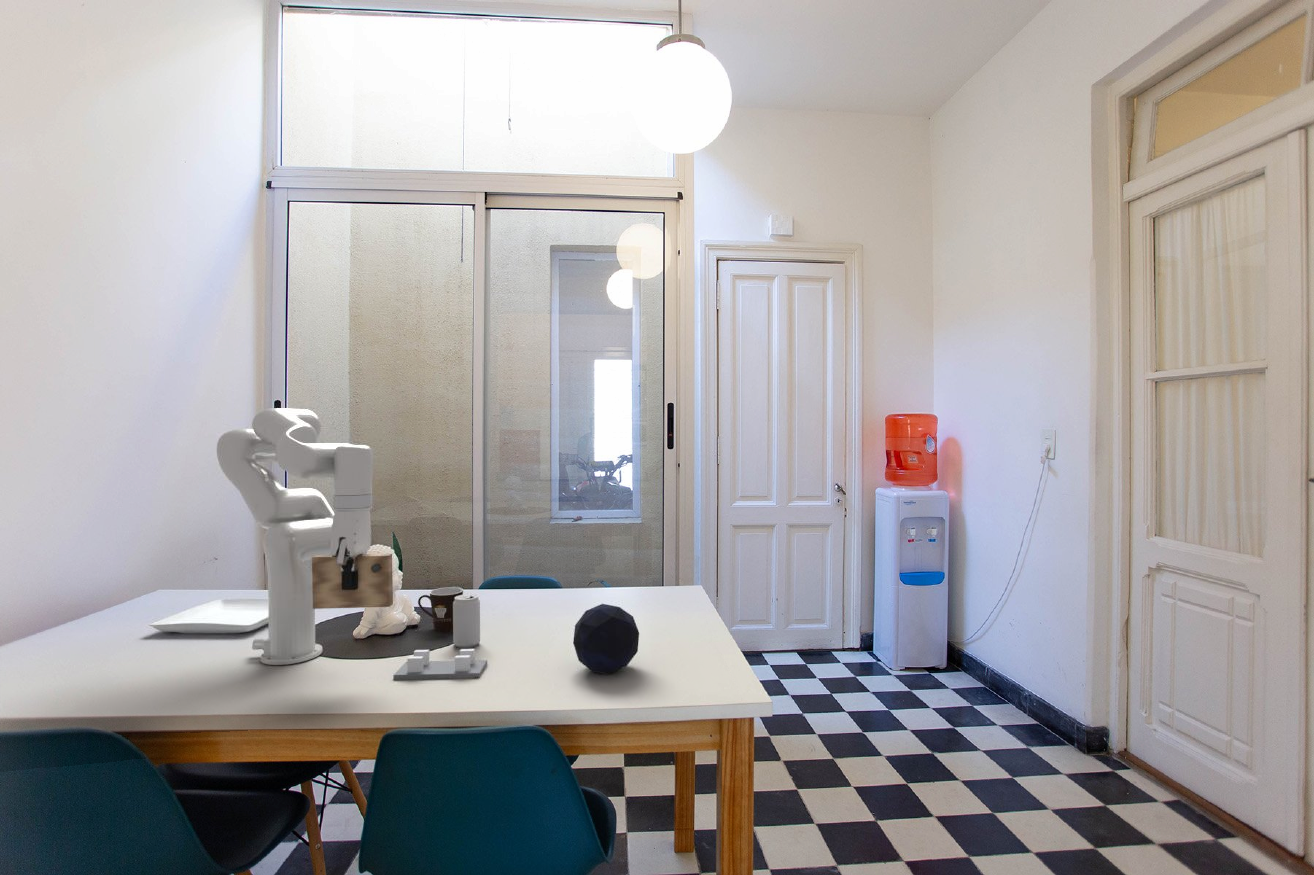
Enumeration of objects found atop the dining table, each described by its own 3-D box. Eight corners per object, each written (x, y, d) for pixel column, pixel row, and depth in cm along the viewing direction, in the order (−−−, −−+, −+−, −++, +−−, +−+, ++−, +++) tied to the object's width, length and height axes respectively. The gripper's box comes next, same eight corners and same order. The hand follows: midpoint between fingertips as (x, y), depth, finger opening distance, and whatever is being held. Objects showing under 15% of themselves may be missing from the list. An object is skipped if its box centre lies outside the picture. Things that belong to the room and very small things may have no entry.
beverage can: (472, 649, 154) (472, 600, 154) (448, 648, 155) (448, 599, 155) (484, 641, 160) (484, 593, 160) (461, 640, 161) (461, 592, 161)
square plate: (251, 638, 164) (251, 623, 164) (146, 638, 164) (146, 623, 164) (309, 610, 191) (309, 597, 191) (219, 609, 192) (219, 596, 192)
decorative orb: (561, 636, 147) (571, 594, 138) (622, 628, 153) (635, 587, 144) (574, 692, 136) (587, 649, 128) (639, 681, 142) (655, 640, 134)
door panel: (310, 610, 134) (309, 558, 134) (317, 606, 137) (316, 555, 137) (387, 608, 135) (386, 556, 135) (392, 604, 138) (392, 553, 138)
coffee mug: (470, 626, 172) (470, 589, 172) (444, 635, 165) (444, 596, 165) (441, 620, 179) (441, 584, 179) (415, 628, 171) (415, 590, 171)
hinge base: (393, 679, 135) (393, 660, 135) (406, 666, 143) (406, 648, 143) (479, 677, 136) (479, 659, 136) (487, 664, 144) (487, 646, 144)
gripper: (351, 498, 144) (350, 579, 144) (317, 506, 128) (316, 597, 129) (384, 498, 145) (384, 579, 145) (355, 507, 129) (354, 597, 129)
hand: (352, 587), depth 137 cm, fingers closed on door panel, 2 cm apart
